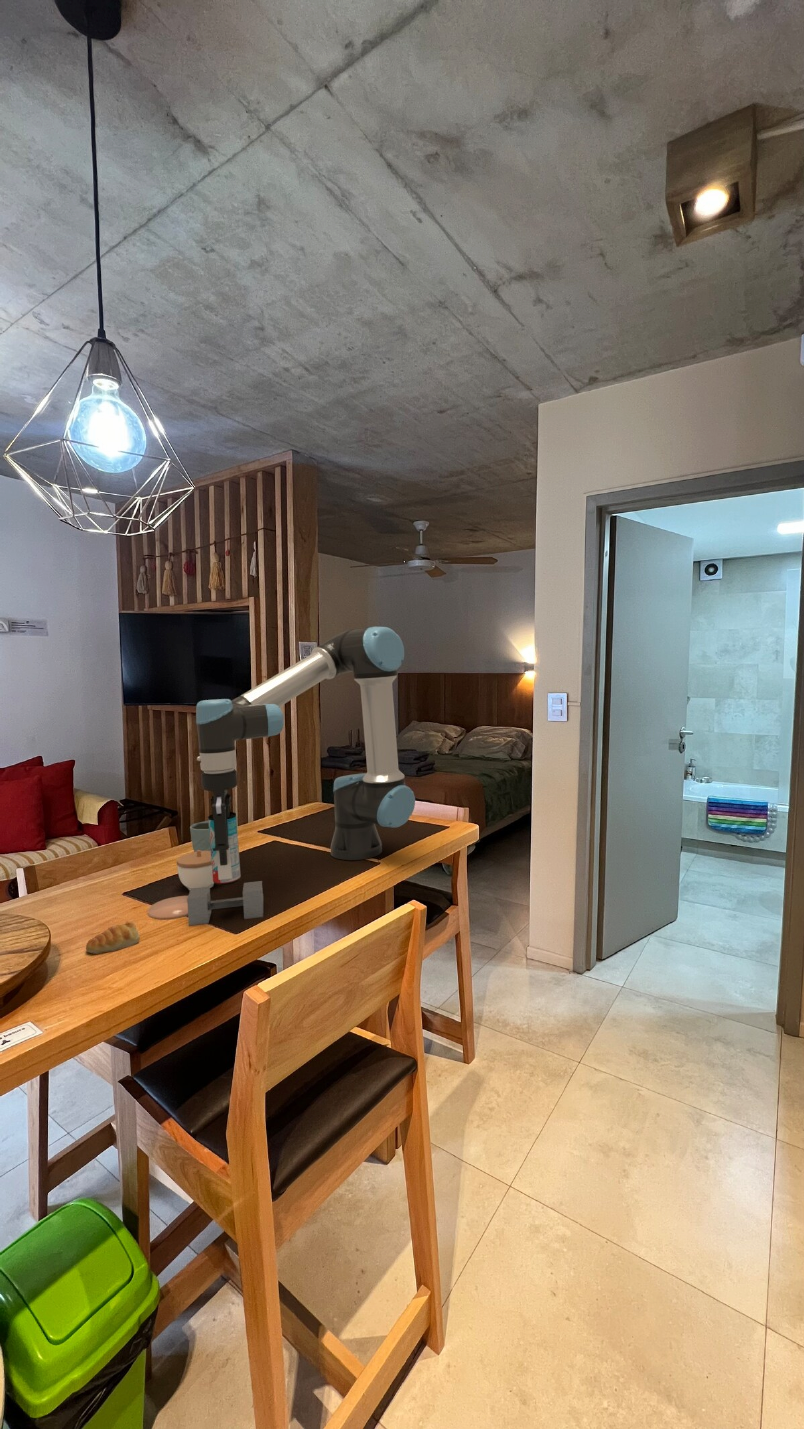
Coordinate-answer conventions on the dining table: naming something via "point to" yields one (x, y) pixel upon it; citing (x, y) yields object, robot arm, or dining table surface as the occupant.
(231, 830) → the beverage can
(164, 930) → the dining table surface
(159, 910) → the coaster
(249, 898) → the dumbbell
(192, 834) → the green plant pot
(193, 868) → the lidded jar
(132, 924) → the pastry
